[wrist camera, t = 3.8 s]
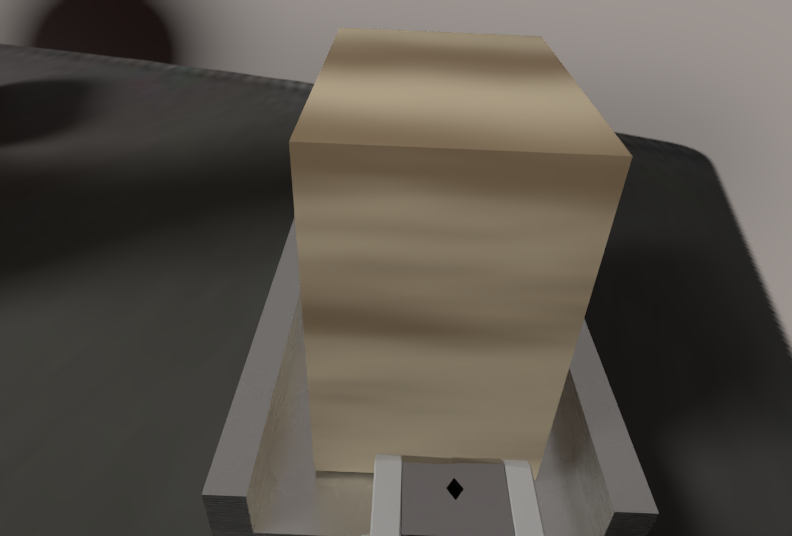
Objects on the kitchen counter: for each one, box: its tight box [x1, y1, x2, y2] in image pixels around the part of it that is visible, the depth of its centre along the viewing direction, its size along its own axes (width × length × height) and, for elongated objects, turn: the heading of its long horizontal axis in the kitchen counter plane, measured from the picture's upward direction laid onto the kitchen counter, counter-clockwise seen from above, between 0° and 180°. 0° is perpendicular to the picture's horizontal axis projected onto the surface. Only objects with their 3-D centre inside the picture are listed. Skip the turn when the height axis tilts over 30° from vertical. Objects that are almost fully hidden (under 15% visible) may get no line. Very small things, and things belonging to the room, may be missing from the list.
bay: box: [202, 217, 659, 536], centre depth 26 cm, size 26×12×6 cm, turn 179°
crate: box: [289, 28, 633, 480], centre depth 19 cm, size 11×7×11 cm, turn 179°
